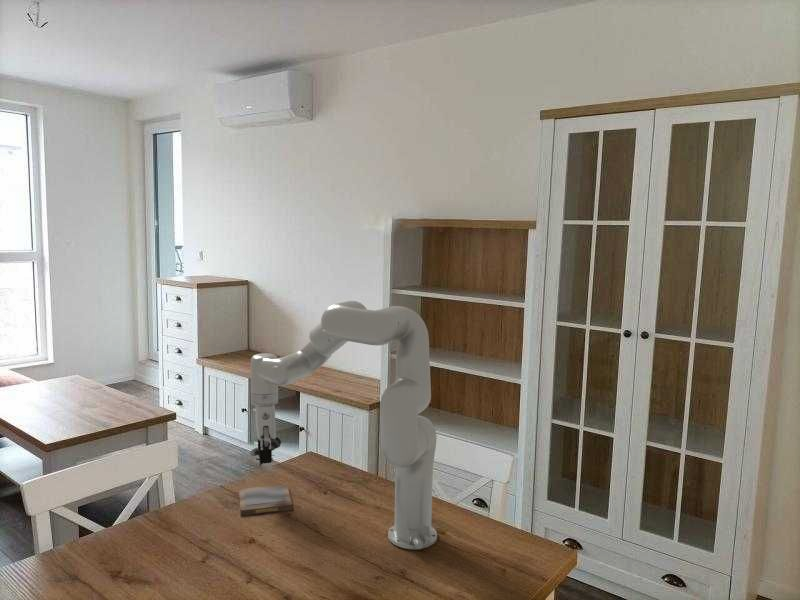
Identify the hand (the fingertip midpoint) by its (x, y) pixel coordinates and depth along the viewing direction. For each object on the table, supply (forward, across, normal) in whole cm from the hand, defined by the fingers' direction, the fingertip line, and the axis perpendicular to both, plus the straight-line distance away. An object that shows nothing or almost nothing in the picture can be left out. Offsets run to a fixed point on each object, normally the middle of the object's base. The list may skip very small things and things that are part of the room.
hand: (264, 456), depth 168 cm
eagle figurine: (+2, +1, -1) cm, 3 cm away
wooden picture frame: (+13, 0, 0) cm, 13 cm away
